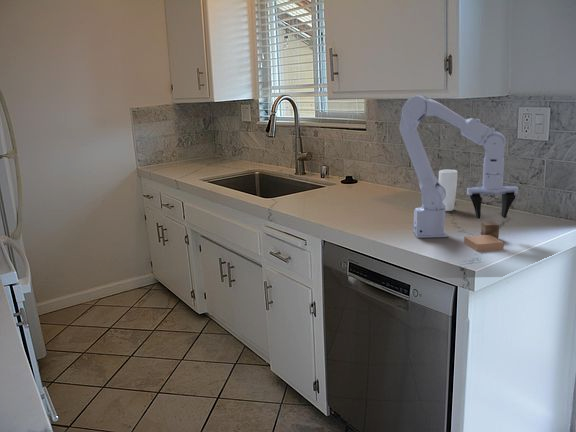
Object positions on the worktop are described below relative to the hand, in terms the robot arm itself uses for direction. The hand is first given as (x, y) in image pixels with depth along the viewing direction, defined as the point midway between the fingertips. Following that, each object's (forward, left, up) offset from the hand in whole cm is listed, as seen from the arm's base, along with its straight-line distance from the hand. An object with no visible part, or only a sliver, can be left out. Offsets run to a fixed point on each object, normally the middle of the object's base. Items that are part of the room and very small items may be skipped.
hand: (490, 217), depth 157 cm
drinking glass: (-4, +38, -7) cm, 39 cm away
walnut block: (0, 0, -7) cm, 7 cm away
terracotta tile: (-4, -7, -7) cm, 11 cm away
